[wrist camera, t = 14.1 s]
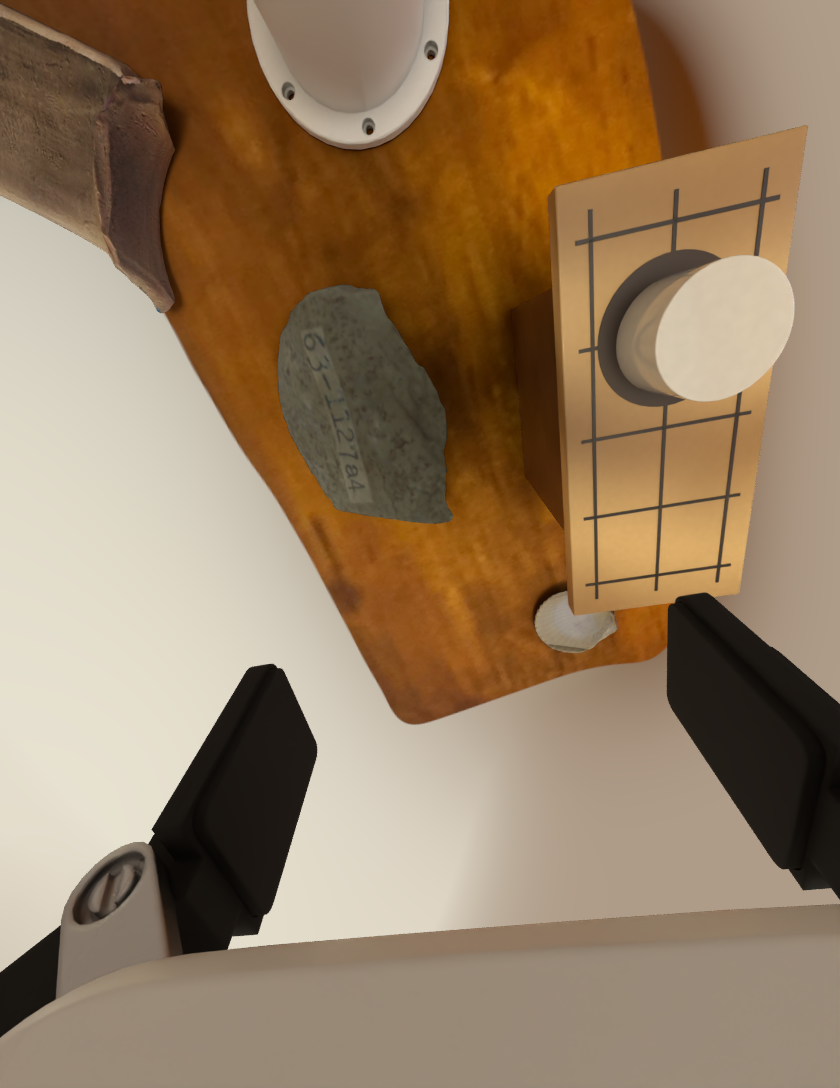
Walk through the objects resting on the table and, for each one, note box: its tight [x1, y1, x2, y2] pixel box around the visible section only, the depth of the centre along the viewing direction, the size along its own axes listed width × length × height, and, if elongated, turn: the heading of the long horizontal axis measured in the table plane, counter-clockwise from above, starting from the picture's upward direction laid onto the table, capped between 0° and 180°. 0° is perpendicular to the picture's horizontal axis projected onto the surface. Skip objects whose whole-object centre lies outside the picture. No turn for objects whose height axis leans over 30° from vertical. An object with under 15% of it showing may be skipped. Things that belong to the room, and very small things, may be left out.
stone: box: [277, 284, 453, 524], centre depth 35 cm, size 20×4×15 cm
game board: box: [511, 125, 808, 616], centre depth 28 cm, size 20×9×18 cm, turn 11°
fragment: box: [0, 3, 175, 313], centre depth 29 cm, size 13×16×5 cm
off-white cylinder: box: [616, 255, 795, 402], centre depth 16 cm, size 5×5×4 cm
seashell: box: [534, 591, 618, 653], centre depth 44 cm, size 8×3×8 cm
